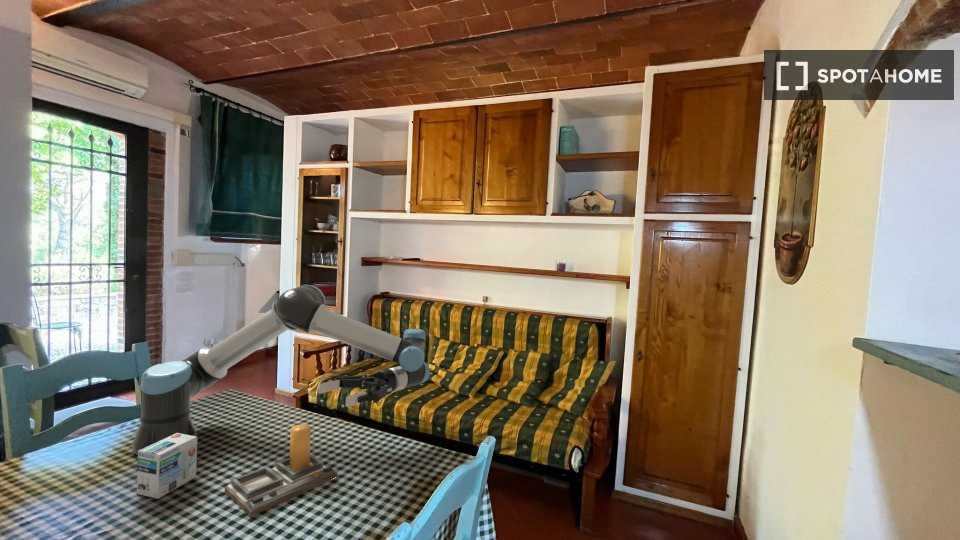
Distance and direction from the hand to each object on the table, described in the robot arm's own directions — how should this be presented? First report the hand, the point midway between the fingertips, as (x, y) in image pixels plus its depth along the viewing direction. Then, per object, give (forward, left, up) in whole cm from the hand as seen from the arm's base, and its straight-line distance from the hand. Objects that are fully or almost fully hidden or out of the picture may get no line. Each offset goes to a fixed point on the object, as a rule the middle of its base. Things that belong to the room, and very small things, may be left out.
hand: (332, 395), depth 119 cm
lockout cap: (+1, -10, -17) cm, 20 cm away
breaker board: (+3, -15, -19) cm, 24 cm away
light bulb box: (-17, -34, -19) cm, 43 cm away
